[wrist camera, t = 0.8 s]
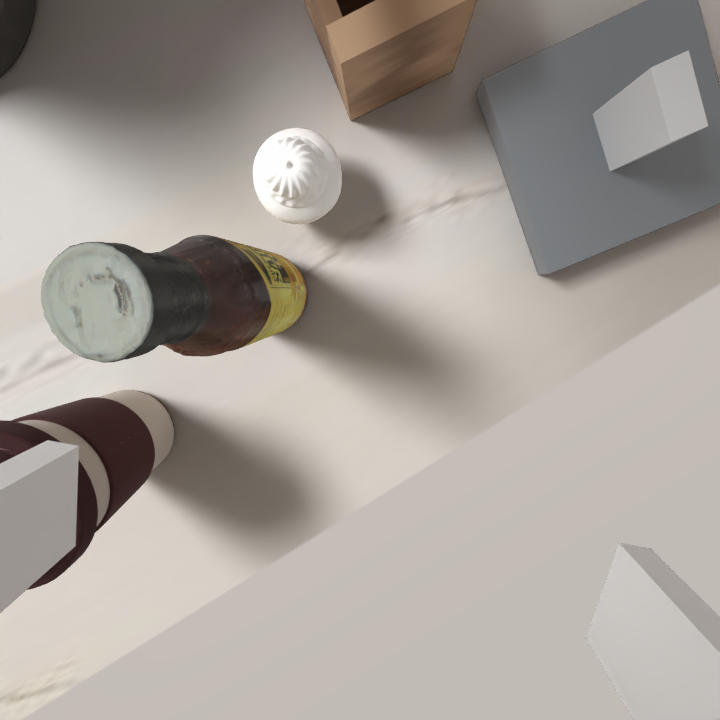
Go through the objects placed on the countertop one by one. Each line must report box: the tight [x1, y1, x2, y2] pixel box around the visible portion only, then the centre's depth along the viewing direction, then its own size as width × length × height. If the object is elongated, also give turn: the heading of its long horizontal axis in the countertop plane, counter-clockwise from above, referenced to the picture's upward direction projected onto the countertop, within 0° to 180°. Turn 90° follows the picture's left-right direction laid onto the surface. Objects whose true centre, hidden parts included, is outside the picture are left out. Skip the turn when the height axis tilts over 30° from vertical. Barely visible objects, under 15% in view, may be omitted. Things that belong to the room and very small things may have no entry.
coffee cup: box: [0, 390, 174, 590], centre depth 28 cm, size 10×10×15 cm
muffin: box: [253, 128, 342, 224], centre depth 28 cm, size 6×6×7 cm
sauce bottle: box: [41, 235, 308, 362], centre depth 23 cm, size 6×6×20 cm
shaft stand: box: [476, 0, 720, 275], centre depth 26 cm, size 14×14×8 cm
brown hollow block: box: [304, 0, 477, 121], centre depth 25 cm, size 8×8×8 cm
